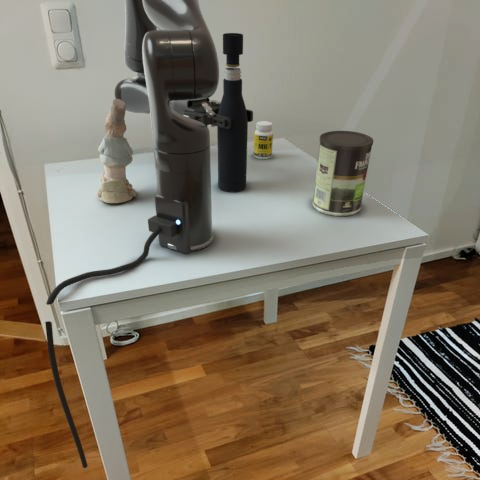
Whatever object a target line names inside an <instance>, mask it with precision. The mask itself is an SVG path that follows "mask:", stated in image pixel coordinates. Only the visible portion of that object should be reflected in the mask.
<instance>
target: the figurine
mask: <svg viewBox="0 0 480 480" xmlns="http://www.w3.org/2000/svg"><path fill="white" fill-rule="evenodd" d="M126 112H127V111H126V105H125V103H124V101H122V100H120V99H115V98H114V99H113V100H112V101H111V104H110V107H109V112H108V114H107V115H106V118H105V121H104V124H103V125H104V130H105V131H104V132H105V133H106V135H105V136H104V137H102V138H103V139H102V141H101V143H100V145H99V146H98V148H97V149H98V153H99V160H100V161H101V164H102V165H103V166H104V167H103V168H104V172H103V173H102V175H101V178H100V182H101V186H100V188H98V191H97V196H98V199H99V200H100V201H102V202H104V203H106V204H121V203H124V202H128V201H130V200H132V199H134V197H137V196H138V193H137V191H136V189H135V188H133V184H132V183H130V181H129V180H128V178H127V175H126V173H127V172H126V171H127V170H126V167H128V166H129V165H131V163H133V158H134V157H133V155H134V150H133V148H132V146H131V145H130V143H129V142H128V139H127V137H124V135H125V133H126V131H127V124H126V120H125V117H126Z"/></svg>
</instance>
